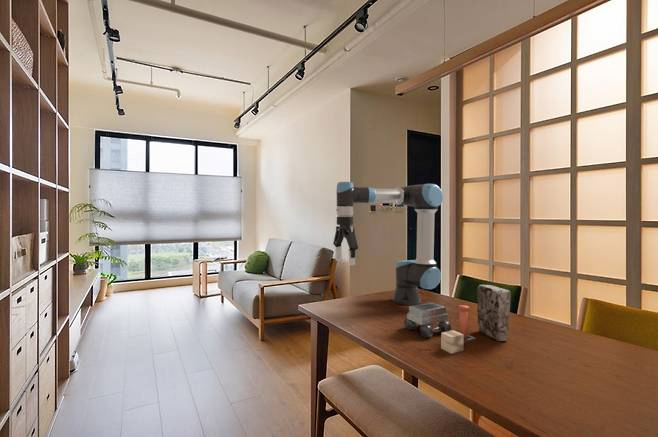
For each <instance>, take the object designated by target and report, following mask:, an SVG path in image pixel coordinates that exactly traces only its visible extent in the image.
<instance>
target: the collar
mask: <svg viewBox="0 0 658 437" xmlns="http://www.w3.org/2000/svg"><path fill="white" fill-rule="evenodd" d="M476 340H477V338H476V337H474V336H473V335H469V334H468V339H464V344H465V343H469V342H474V341H476Z"/></svg>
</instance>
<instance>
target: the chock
mask: <svg viewBox="0 0 658 437" xmlns="http://www.w3.org/2000/svg"><path fill="white" fill-rule="evenodd" d="M440 333H441V332H440ZM440 336H441V337H440V349H441V350H443V351H446V353H449V354H455V353H460V352H463V351H464V344H465V343H464V334H461V333H459V331H456V330H454V329H451V331H447V332H442V333H441V334H440Z"/></svg>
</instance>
